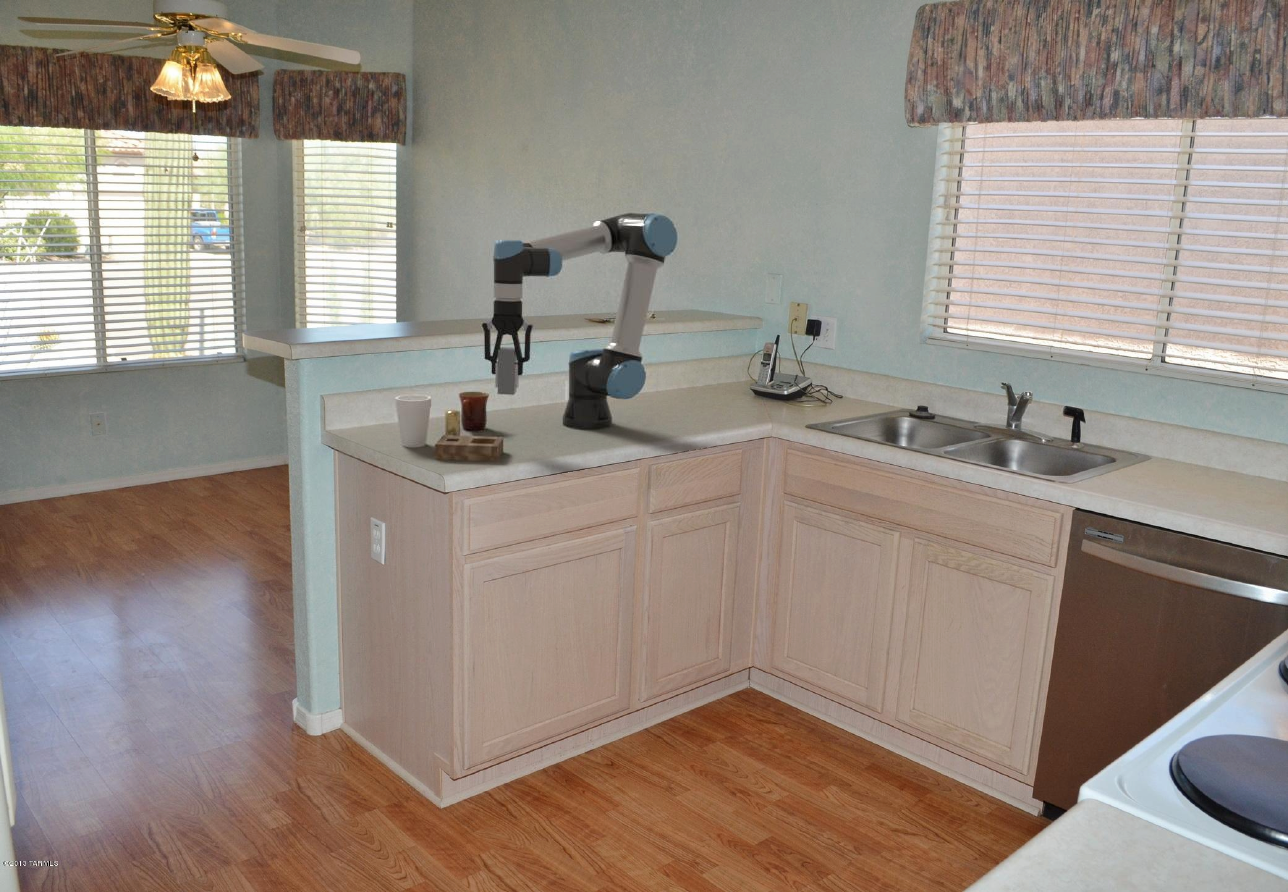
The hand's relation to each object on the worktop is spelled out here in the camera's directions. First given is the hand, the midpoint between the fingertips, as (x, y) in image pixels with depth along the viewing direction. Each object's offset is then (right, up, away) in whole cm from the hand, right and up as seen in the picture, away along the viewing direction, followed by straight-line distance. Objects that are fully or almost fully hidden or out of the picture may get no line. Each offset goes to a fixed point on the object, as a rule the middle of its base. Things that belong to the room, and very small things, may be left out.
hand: (507, 386), depth 278 cm
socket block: (-9, -18, -6) cm, 21 cm away
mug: (-14, -11, +25) cm, 31 cm away
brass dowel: (-16, -15, +7) cm, 23 cm away
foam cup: (-26, -16, +4) cm, 31 cm away
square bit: (0, -2, 0) cm, 2 cm away
